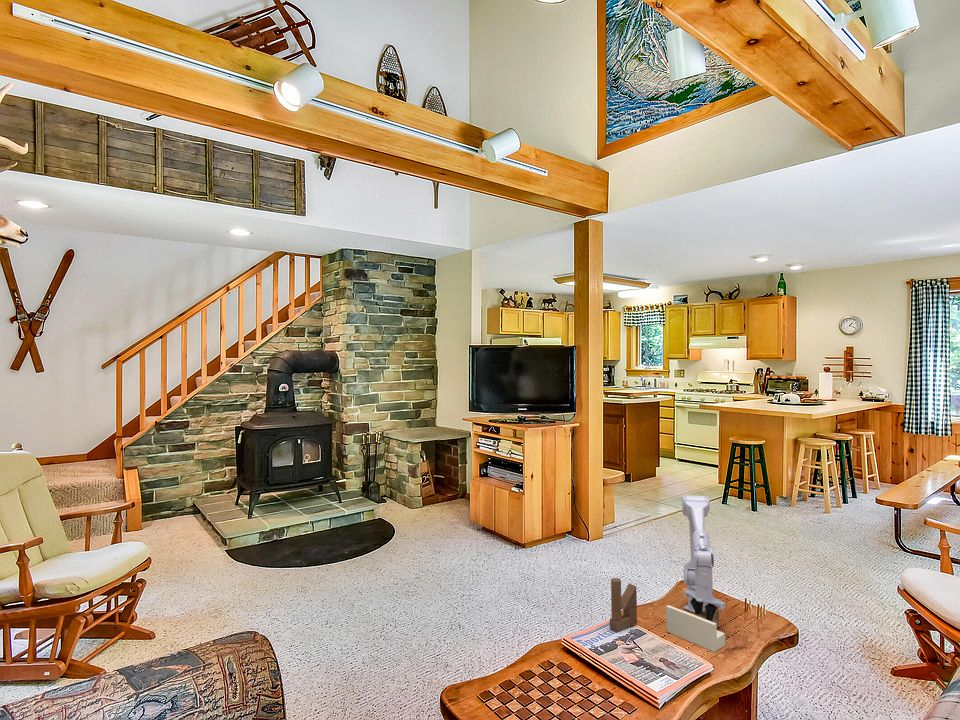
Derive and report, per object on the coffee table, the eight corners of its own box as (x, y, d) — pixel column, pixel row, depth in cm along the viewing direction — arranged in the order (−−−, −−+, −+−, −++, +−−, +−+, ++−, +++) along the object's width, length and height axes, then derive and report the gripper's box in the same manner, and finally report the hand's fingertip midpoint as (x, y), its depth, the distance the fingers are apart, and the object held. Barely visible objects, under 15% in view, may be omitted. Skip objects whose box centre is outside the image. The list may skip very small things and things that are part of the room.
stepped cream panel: (677, 625, 194) (676, 600, 194) (725, 645, 180) (724, 618, 180) (666, 631, 190) (666, 606, 190) (714, 652, 176) (714, 624, 176)
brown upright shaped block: (637, 624, 195) (636, 575, 195) (616, 632, 189) (616, 582, 190) (629, 620, 198) (628, 572, 198) (609, 628, 192) (608, 579, 193)
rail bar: (711, 623, 195) (710, 606, 195) (719, 626, 192) (719, 609, 192) (690, 635, 186) (690, 618, 186) (699, 638, 184) (699, 621, 184)
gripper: (679, 580, 192) (679, 618, 192) (717, 593, 181) (718, 633, 181) (689, 576, 197) (690, 612, 197) (728, 588, 185) (728, 627, 185)
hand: (704, 622), depth 189 cm, fingers closed on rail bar, 3 cm apart
